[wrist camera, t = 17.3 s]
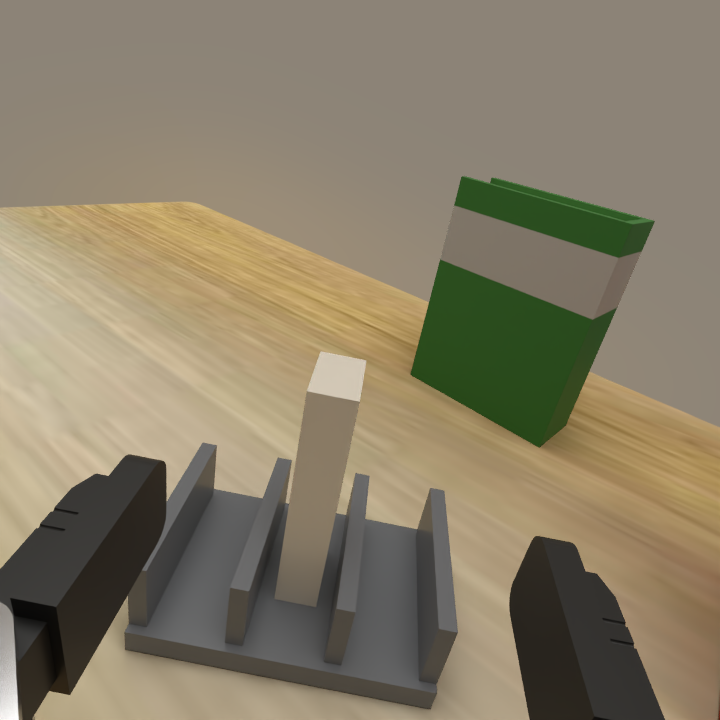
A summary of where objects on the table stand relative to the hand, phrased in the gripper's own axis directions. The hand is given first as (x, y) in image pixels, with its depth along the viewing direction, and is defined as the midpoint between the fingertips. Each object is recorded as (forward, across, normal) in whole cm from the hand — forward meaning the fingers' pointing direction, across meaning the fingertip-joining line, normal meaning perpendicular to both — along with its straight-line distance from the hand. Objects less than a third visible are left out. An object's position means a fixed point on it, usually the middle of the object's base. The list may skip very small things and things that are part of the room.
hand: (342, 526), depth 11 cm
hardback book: (+47, -15, +22) cm, 54 cm away
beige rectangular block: (+15, +2, +20) cm, 25 cm away
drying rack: (+15, +2, +21) cm, 26 cm away
